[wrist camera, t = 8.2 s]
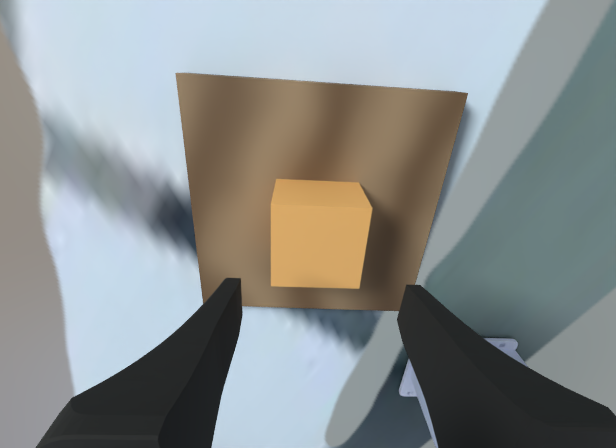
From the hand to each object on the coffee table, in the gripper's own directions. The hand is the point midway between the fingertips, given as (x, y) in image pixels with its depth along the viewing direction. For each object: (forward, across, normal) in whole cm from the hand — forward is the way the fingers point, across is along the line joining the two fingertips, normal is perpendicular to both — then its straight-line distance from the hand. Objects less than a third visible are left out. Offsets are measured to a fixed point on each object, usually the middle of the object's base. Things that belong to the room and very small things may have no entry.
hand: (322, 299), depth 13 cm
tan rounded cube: (+8, 0, 0) cm, 8 cm away
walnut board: (+9, 0, 0) cm, 9 cm away
